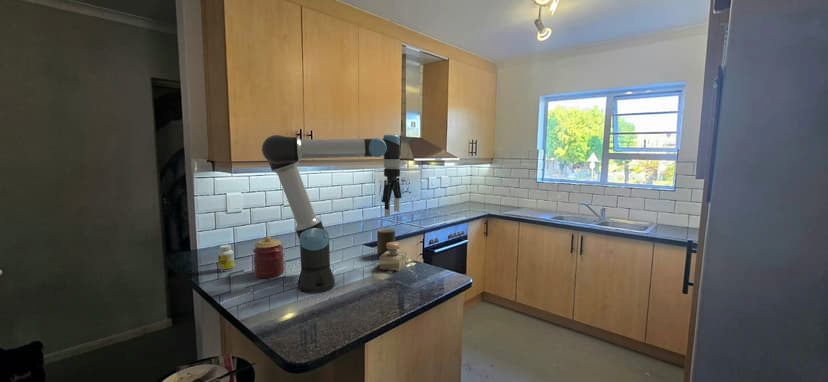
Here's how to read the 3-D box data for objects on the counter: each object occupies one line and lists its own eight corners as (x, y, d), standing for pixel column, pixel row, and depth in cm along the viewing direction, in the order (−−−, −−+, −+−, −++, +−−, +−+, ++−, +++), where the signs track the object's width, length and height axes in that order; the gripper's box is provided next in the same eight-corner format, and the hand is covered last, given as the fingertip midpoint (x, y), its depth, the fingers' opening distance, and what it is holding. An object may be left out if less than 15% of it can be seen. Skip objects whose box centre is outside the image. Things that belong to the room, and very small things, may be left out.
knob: (396, 261, 165) (396, 246, 164) (384, 260, 167) (384, 244, 166) (401, 257, 171) (401, 242, 170) (389, 256, 173) (389, 241, 172)
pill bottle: (217, 269, 166) (215, 246, 164) (231, 266, 170) (230, 243, 169) (222, 273, 161) (220, 248, 160) (236, 269, 166) (235, 245, 164)
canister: (247, 276, 157) (245, 238, 155) (268, 267, 169) (266, 231, 167) (270, 280, 152) (268, 241, 150) (290, 270, 164) (288, 234, 162)
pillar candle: (391, 258, 181) (391, 230, 180) (374, 256, 184) (374, 229, 183) (398, 253, 190) (398, 226, 189) (381, 251, 194) (381, 225, 192)
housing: (399, 271, 163) (399, 258, 163) (379, 268, 166) (379, 256, 166) (406, 264, 173) (406, 252, 172) (387, 262, 176) (387, 250, 175)
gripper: (390, 170, 151) (390, 219, 154) (407, 166, 173) (407, 209, 176) (374, 169, 153) (375, 218, 156) (393, 166, 176) (394, 209, 179)
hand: (392, 213), depth 166 cm, fingers open, 11 cm apart
